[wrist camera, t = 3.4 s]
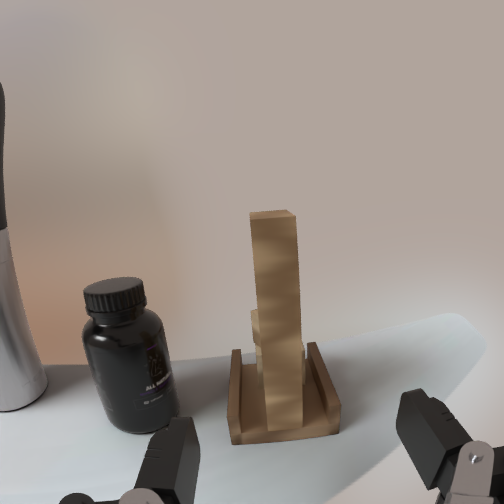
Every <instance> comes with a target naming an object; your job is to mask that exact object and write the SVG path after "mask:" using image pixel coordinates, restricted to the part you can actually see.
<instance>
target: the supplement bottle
mask: <svg viewBox="0 0 504 504" xmlns="http://www.w3.org/2000/svg"><path fill="white" fill-rule="evenodd" d="M84 299H85V303H86V307H85V308H86V312H87V314H88V315H89V316H90V317H91V319H89V320H88V322H87V323H86V324H85V326H84V328H83V331H82V342H83V346H84V350H85V353H86V357H87V360H88V363H89V366H90V370H91V373H92V376H93V379H94V382H95V385H96V388H97V391H98V394H99V396H100V399H101V402H102V405H103V407H104V410H105V412H106V415H107V417H108V419H109V421H110V422H111V423H112V424H113V425H114V426H115V427H117V428H118V429H120V430H122V431H125V432H129V433H148V432H153V431H156V430H159V429H161V428H163V427H165V426H166V425H168V424H169V423H170V420H171V418H172V417H176V415H177V413H178V411H179V399H178V394H177V389H176V385H175V381H174V376H173V372H172V367H171V362H170V357H169V353H168V348H167V343H166V337H165V332H164V328H163V323H162V321H161V319H160V318H159V317H158V315H157V314H156V313H154V312H153V311H151V310H149V309H146V308H145V306H146V305H147V299H146V296H145V292H144V286H143V281H142V280H141V279H139V278H136V277H120V278H112V279H107V280H102V281H99V282H96V283H93V284H91V285H89V286H87V287H86V288H85V289H84Z"/></svg>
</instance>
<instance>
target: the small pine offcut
mask: <svg viewBox="0 0 504 504" xmlns="http://www.w3.org/2000/svg"><path fill="white" fill-rule="evenodd" d="M251 320H252V330H253V340H254V343H255V344H256V345H258V346H259V347H260V348H261V342H260V330H259V318H258V309H256V310H252V311H251Z"/></svg>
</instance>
